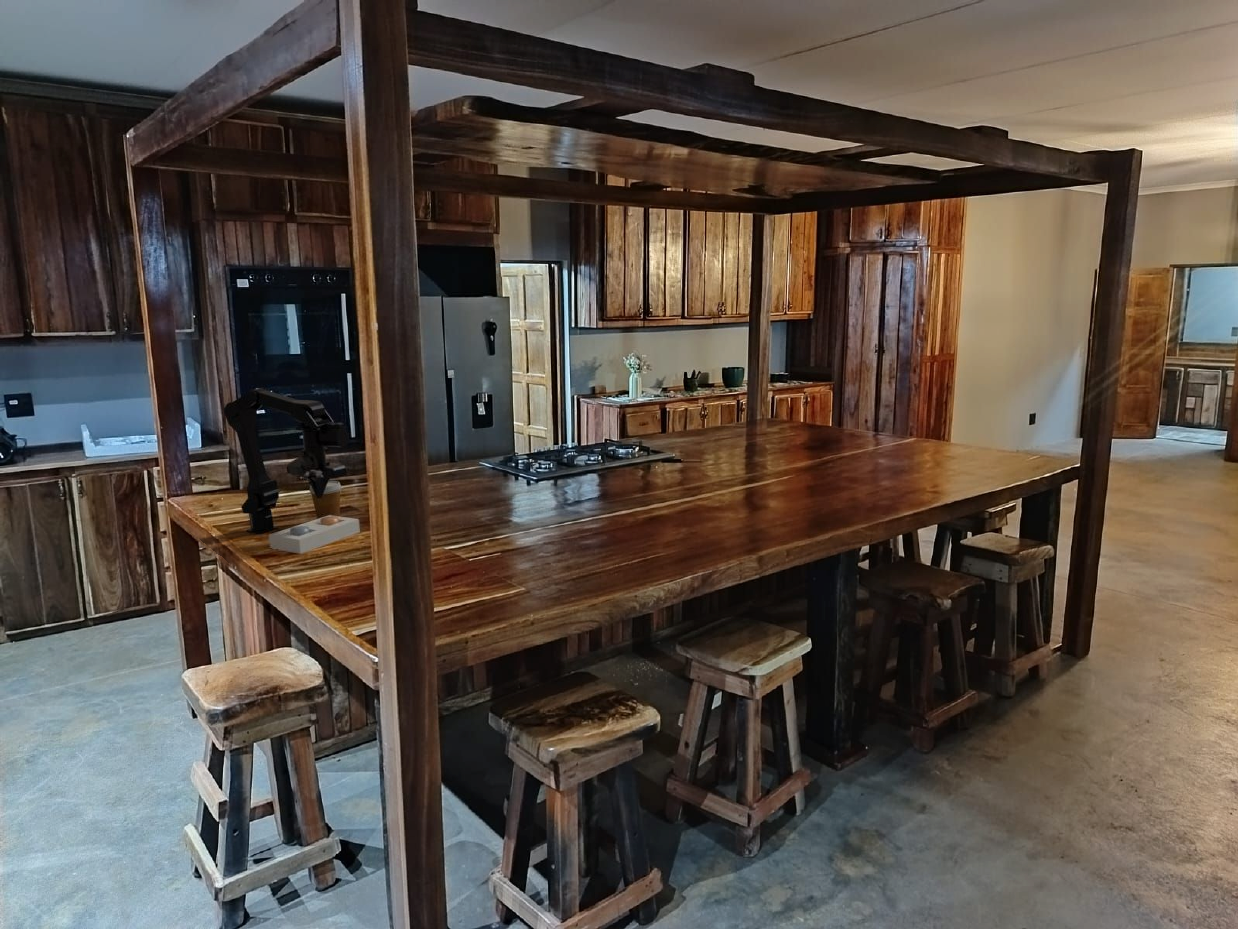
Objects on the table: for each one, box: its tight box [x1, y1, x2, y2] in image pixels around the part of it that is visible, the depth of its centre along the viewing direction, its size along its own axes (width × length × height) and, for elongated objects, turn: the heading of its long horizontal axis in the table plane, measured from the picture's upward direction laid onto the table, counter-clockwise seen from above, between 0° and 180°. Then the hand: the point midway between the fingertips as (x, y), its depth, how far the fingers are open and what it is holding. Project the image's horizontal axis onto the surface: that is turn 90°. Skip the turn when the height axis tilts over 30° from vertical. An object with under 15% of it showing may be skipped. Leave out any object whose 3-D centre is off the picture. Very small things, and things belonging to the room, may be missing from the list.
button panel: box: [268, 515, 361, 555], centre depth 241 cm, size 12×22×4 cm, turn 152°
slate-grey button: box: [290, 526, 309, 536], centre depth 235 cm, size 5×5×3 cm
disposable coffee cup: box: [309, 480, 343, 519], centre depth 259 cm, size 10×10×12 cm
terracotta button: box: [320, 516, 339, 526], centre depth 245 cm, size 5×5×3 cm
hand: (319, 498), depth 244 cm, fingers closed
